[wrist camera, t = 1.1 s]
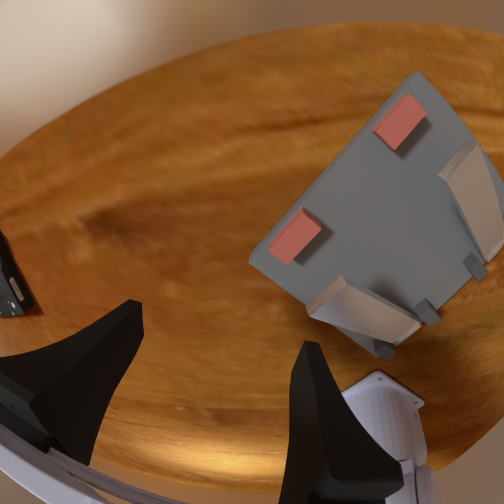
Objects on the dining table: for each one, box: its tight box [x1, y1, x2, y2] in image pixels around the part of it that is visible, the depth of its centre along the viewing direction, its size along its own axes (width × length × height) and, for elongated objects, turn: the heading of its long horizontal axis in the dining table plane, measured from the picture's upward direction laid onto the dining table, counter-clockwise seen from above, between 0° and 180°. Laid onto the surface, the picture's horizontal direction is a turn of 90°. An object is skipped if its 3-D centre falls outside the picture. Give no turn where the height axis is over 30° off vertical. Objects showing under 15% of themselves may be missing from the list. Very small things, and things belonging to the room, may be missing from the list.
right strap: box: [438, 138, 504, 264], centre depth 13 cm, size 10×2×1 cm, turn 52°
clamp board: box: [248, 71, 504, 361], centre depth 17 cm, size 13×16×3 cm
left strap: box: [306, 275, 422, 346], centre depth 17 cm, size 10×2×1 cm, turn 52°
